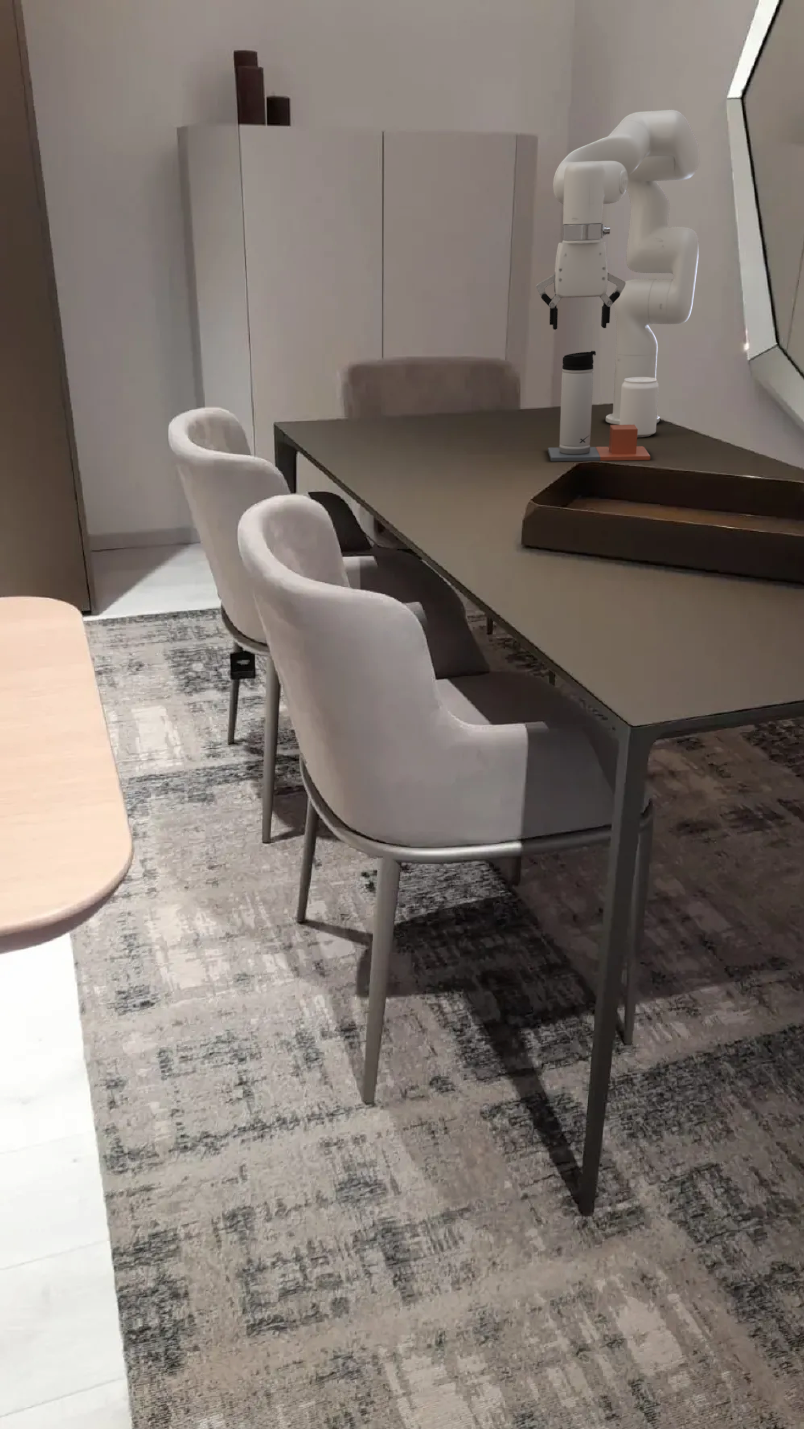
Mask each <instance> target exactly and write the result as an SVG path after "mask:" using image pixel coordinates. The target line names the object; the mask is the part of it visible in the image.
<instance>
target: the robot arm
mask: <svg viewBox="0 0 804 1429" xmlns="http://www.w3.org/2000/svg"><path fill="white" fill-rule="evenodd" d="M700 152H701V150H700V145H699V142H698V139H697V137H696V135H695V133H694V130H693V129H692V127H691V124H690V122H689V120H688V119H687V117H686V116H685V115H684V114H683V113H682V112H680V111H679V110H676V109H663V110H661V109H660V110H648V111H647V110H646V111H636V112H632V113H629V114H628V115H626V116H624V118H623V119H621V121H619V123H618V124H617V125H616V126H615V128H614V129H613V130H611V132H610V133H609V134H608V135H607V136H605V137H602V138H599V139H596V140H595V141H593V142H590V143H588V144H585V145H583V146H580V147H578V148H575V149H574V150H572V151H571V152H569V153H568V154H567V155H566V156H565V157H564V158H563V159H562V161H560V163H559V165H558V166H557V168H556V170H555V173H554V176H553V180H552V192H553V195H554V197H555V199H556V200H557V201H558V202H559V203H560V204H563V205H562V207H563V208H562V241H561V242H558V244H557V247H556V254H555V261H554V262H555V263H554V273H553V274H552V275H550V276H549V277H547V278H545V279H543V280H542V281H540V282H538V283H536V285H535V288H536V289H537V292H538V294H539V296H540V298H541V300H542V301H543V302H544V303H545V304H546V305H547V307H549V326H552V330H553V331H554V330H555V331H556V330H558V315H559V314H558V312H559V308H558V304H559V303H560V301H561V300H562V299H565V298H566V299H569V298H570V299H571V298H597V297H598V298H600V299H601V301H602V304H603V305H602V306H601V321H600V326H601V328H603V329H607V325H608V324H610V323H611V322H610V321H611V306H612V305H614V307H613V308H614V313H615V314H614V315H615V316H614V317H615V326H616V327H615V328H616V338H615V340H616V342H615V359H614V360H615V361H614V379H613V380H614V382H613V398H612V399H613V401H612V413H609V414H606V416H605V422H606V423H607V424H610V425H619V424H620V406H621V388H622V384H623V383H624V379H626V378H632V377H649V378H655V379H657V364H658V352H659V345H658V344H659V343H658V339H657V338H656V335H655V333H654V331H653V330H652V329H651V327H650V326H649V325H681V324H684V323H685V322H687V321H688V320H689V318H690V316H691V313H692V310H693V304H694V299H695V298H694V296H695V289H696V282H697V281H696V280H697V273H698V265H699V257H700V256H699V255H700V241H699V236H698V234H697V232H696V230H694V229H692V228H691V227H687V226H669V220H670V209H671V202H670V200H669V198H668V196H667V194H666V192H665V190H664V189H663V188H662V186H661V185H660V184H659V182H664V181H665V182H666V181H684V180H689V179H690V178H692V177H693V176H694V175H695V174H696V173H697V170H698V168H699V164H700V159H701V153H700ZM658 181H659V182H658ZM626 192H627V193H628V197H629V202H630V214H629V215H630V216H629V224H628V225H629V226H628V235H627V243H626V244H627V245H626V256H625V257H626V258H625V261H626V265H627V267H628V269H629V270H630V271H632V272H634V273H641V274H672V276H673V279H670V278H669V279H667V278H666V279H665V278H663V279H661V278H658V279H657V278H634V279H633V278H632V279H629V280H626V281H625V280H623V279H621V278H619V277H617V276H615V275H613V274H611V273H610V272H608V254H607V244H606V241H605V240H603V237H605V236H607V235H610V234H611V226H606V225H604V223H603V221H604V220H603V219H604V205H609V204H615V203H617V202H619V201H620V200H621V199H622V198H623V197H625V194H626ZM608 282H610V283H612V284H614V285H615V286H616V287H615V289H614V291H613V292H612V293H611V294H610V295H609V296H608V294H607V291H608ZM552 284H553V291H554V293H555V294H554V295H553V296H552V297H550V296H549V295H548V294H547V292H546V287H549V286H550V285H552ZM660 418H661V417H660V416H659V415H658V414H657V422H656V424H658V423H659V422H660Z"/></svg>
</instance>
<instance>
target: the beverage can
mask: <svg viewBox="0 0 804 1429" xmlns="http://www.w3.org/2000/svg"><path fill="white" fill-rule="evenodd" d="M659 391H660V384H659V383H658V378H656V379H655V378H649V377H632V378H626V379H624V383H623V384H622V388H621V406H620V424H619V425H635V426H636V428H637V429H638V433H637V438H645V437H646V438H647V437H650V436H652V435H654V434H656V432H657V423H656V422H657V415H658V408H659V407H658V405H659V394H660V393H659Z"/></svg>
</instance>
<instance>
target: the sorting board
mask: <svg viewBox="0 0 804 1429" xmlns="http://www.w3.org/2000/svg"><path fill="white" fill-rule="evenodd" d="M547 453H548V455H549V460H550V462H597V461H598V462H599V461H600V462H601V461H602V462H603V461H605V462H606V461H608V462H609V461H651V455H650V454H649V452H648V450H647V449H646V447H645V446H644V445H639V446H638V445H637V449H636V454H611V452H610V450H609V446H590V451H589V452H588V453H586V454H581V455H569V454H563V453H561V452H560V451H559V447H548V448H547Z"/></svg>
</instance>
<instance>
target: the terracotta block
mask: <svg viewBox="0 0 804 1429" xmlns="http://www.w3.org/2000/svg"><path fill="white" fill-rule="evenodd" d="M637 433H638V429H637V428H636V426H635V425H616V424H610V425H609V440H608V441H609V442H608V443H609V444H608V447H609V450H610V452H611V454H636V449H637V446H638V437H637Z"/></svg>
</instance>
